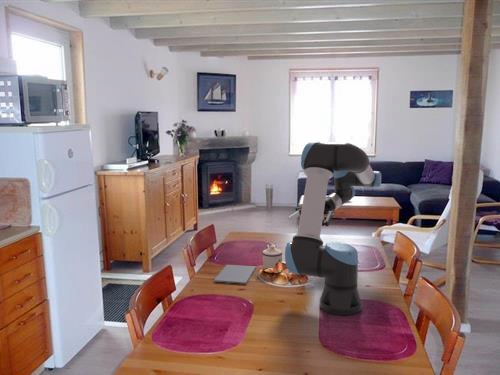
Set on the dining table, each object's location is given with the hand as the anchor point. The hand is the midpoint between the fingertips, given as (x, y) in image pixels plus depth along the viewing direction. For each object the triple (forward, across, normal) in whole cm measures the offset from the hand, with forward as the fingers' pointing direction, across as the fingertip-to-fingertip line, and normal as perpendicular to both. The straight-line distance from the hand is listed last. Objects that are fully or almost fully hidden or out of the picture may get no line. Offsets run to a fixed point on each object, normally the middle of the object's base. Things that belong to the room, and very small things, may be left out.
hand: (299, 224), depth 202 cm
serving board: (+35, +7, -11) cm, 37 cm away
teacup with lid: (+19, +1, -16) cm, 24 cm away
